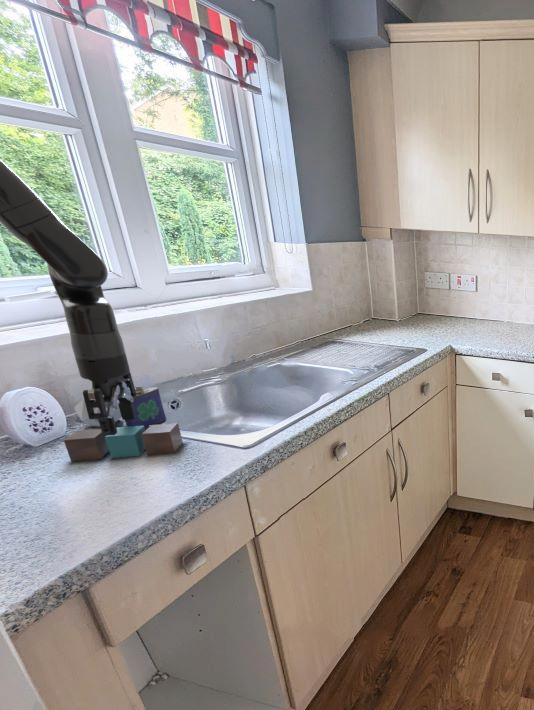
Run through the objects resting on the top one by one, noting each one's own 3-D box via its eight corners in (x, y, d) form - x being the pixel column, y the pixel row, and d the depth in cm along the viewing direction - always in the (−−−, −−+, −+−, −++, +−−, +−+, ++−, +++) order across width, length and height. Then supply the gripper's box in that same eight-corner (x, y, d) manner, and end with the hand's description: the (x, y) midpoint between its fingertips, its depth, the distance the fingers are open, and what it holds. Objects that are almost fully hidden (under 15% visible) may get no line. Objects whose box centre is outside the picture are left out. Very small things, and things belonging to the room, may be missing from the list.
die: (84, 438, 105) (108, 403, 105) (57, 415, 106) (80, 380, 105) (121, 435, 113) (143, 403, 113) (95, 414, 114) (117, 382, 114)
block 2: (147, 455, 98) (141, 434, 96) (156, 445, 102) (151, 424, 100) (174, 452, 99) (169, 431, 98) (182, 442, 104) (178, 422, 102)
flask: (160, 419, 115) (150, 379, 111) (171, 420, 115) (161, 380, 111) (125, 434, 106) (112, 391, 103) (136, 435, 106) (123, 392, 102)
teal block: (111, 458, 96) (104, 436, 94) (122, 448, 100) (116, 427, 98) (140, 455, 97) (133, 434, 96) (149, 445, 102) (144, 425, 100)
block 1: (71, 461, 94) (63, 440, 92) (84, 451, 98) (77, 430, 96) (101, 459, 95) (94, 437, 93) (112, 448, 100) (106, 428, 98)
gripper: (95, 345, 96) (114, 415, 101) (55, 362, 83) (79, 442, 89) (138, 344, 98) (155, 413, 104) (105, 361, 86) (126, 439, 91)
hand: (120, 426), depth 96 cm, fingers open, 8 cm apart
